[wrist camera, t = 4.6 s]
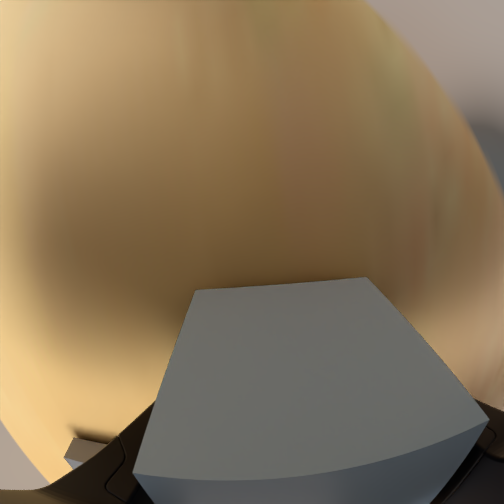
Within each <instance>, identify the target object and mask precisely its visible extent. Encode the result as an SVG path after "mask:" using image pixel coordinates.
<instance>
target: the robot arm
mask: <svg viewBox="0 0 504 504" xmlns="http://www.w3.org/2000/svg"><path fill="white" fill-rule="evenodd" d="M473 399H474V398H473ZM474 400H475V401H476V402H477V404H478V405H479V406H480V408H481V409H482V410H483V412H484V413H485V414H486V415H487V417H488V418H489V421H488V423H487V425H486V426H485V428H484V430H483V431H482V433H481V435H480V436H479V438H478V440H477V441H476V443H475V444H474V446H473V447H472V449H471V450H470V452H469V453H468V455H467V456H466V458H465V459H464V461H463V462H462V463H461V465H460V466H459V468H458V469H457V470H456V472H455V473H454V474H453V476H452V477H451V478H450V479H449V481H448V482H447V483H446V485H445V486H444V487H443V488H442V490H441V491H440V492H439V493H438V494H437V496H436V497H435V498H434V499H433V500H432V501H431V502H430V504H504V412H503V411H501V410H498V409H496V408H493V407H491V406H489V405H487V404H485V403H482V402H480V401H478V400H476V399H474ZM155 401H156V400H155ZM155 401H154V402H153V403H152V404H151V405H150V406H149V407H148V408H147V409H146V410H145V411H144V412H143V413H142V414H140V415H139V416H138V417H137V418H136V419H135V420H134V421H133V422H132V423H131V424H130V425H128V426H127V427H126V428H125V429H124V430H123V431H122V432H121V433H120V434H119V435H118V436H119V437H118V436H116V437H115V438H114V439H113V440H112V441H111V442H110V443H108V444H107V445H106V446H105V447H104V448H102V449H101V450H100V451H99V452H98V453H96V454H95V455H94V456H92V457H91V458H90V459H88V460H87V461H85V462H84V463H83V464H81V465H80V466H78V467H77V468H75V469H74V470H72V471H71V472H69V473H68V474H66V475H65V476H63V477H61V478H60V479H58V480H57V481H55V482H54V483H52V484H50V485H48V486H46V487H43V488H40V489H35V490H1V489H0V504H155V503H154V502H153V501H152V499H151V498H150V497H149V495H148V494H147V493H146V491H145V490H144V489H143V487H142V486H141V484H140V483H139V482H138V480H137V479H136V477H135V476H134V474H133V469H134V466H135V463H136V460H137V456H138V453H139V450H140V447H141V444H142V441H143V437H144V434H145V431H146V428H147V425H148V422H149V419H150V416H151V413H152V410H153V407H154V404H155Z"/></svg>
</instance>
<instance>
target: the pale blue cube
mask: <svg viewBox="0 0 504 504" xmlns="http://www.w3.org/2000/svg"><path fill="white" fill-rule="evenodd" d="M488 421H489V418H488V417H487V415H486V414H485V413H484V412H483V410H482V409H481V408H480V406H479V405H478V404H477V402H476V401H475V400H474V399H473V397H472V396H471V395H470V394H469V392H468V391H467V390H466V389H465V387H464V386H463V385H462V384H461V382H460V381H459V380H458V379H457V377H456V376H455V375H454V374H453V373H452V371H451V370H450V369H449V368H448V367H447V365H446V364H445V363H444V362H443V361H442V359H441V358H440V357H439V356H438V355H437V354H436V352H435V351H434V350H433V349H432V348H431V347H430V345H429V344H428V343H427V342H426V341H425V340H424V339H423V337H422V336H421V335H420V334H419V333H418V332H417V331H416V330H415V328H414V327H413V326H412V325H411V324H410V323H409V322H408V321H407V320H406V318H405V317H404V316H403V315H402V314H401V313H400V312H399V311H398V310H397V309H396V308H395V306H394V305H393V304H392V303H391V302H390V301H389V300H388V299H387V298H386V297H385V296H384V295H383V294H382V293H381V291H380V290H379V289H378V288H377V287H376V286H375V285H374V284H373V283H372V282H371V281H370V280H369V279H368V278H367V277H360V278H349V279H339V280H328V281H316V282H304V283H292V284H279V285H265V286H251V287H236V288H220V289H202V290H195V293H194V296H193V298H192V301H191V303H190V306H189V309H188V311H187V314H186V317H185V319H184V322H183V325H182V328H181V330H180V333H179V336H178V338H177V341H176V344H175V347H174V350H173V352H172V355H171V358H170V361H169V364H168V366H167V369H166V372H165V375H164V378H163V381H162V384H161V386H160V389H159V392H158V395H157V398H156V401H155V404H154V407H153V410H152V413H151V416H150V419H149V422H148V425H147V428H146V431H145V434H144V437H143V441H142V444H141V447H140V450H139V453H138V456H137V460H136V463H135V466H134V469H133V474H134V476H135V477H136V479H137V480H138V482H139V483H140V484H141V486H142V487H143V489H144V490H145V491H146V493H147V494H148V495H149V497H150V498H151V499H152V501H153V502H154V503H155V504H430V502H431V501H432V500H433V499H434V498H435V497H436V496H437V494H438V493H439V492H440V491H441V490H442V488H443V487H444V486H445V485H446V483H447V482H448V481H449V479H450V478H451V477H452V476H453V474H454V473H455V472H456V470H457V469H458V468H459V466H460V465H461V463H462V462H463V461H464V459H465V458H466V456H467V455H468V453H469V452H470V450H471V449H472V447H473V446H474V444H475V443H476V441H477V440H478V438H479V436H480V435H481V433H482V431H483V430H484V428H485V426H486V425H487V423H488Z"/></svg>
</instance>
